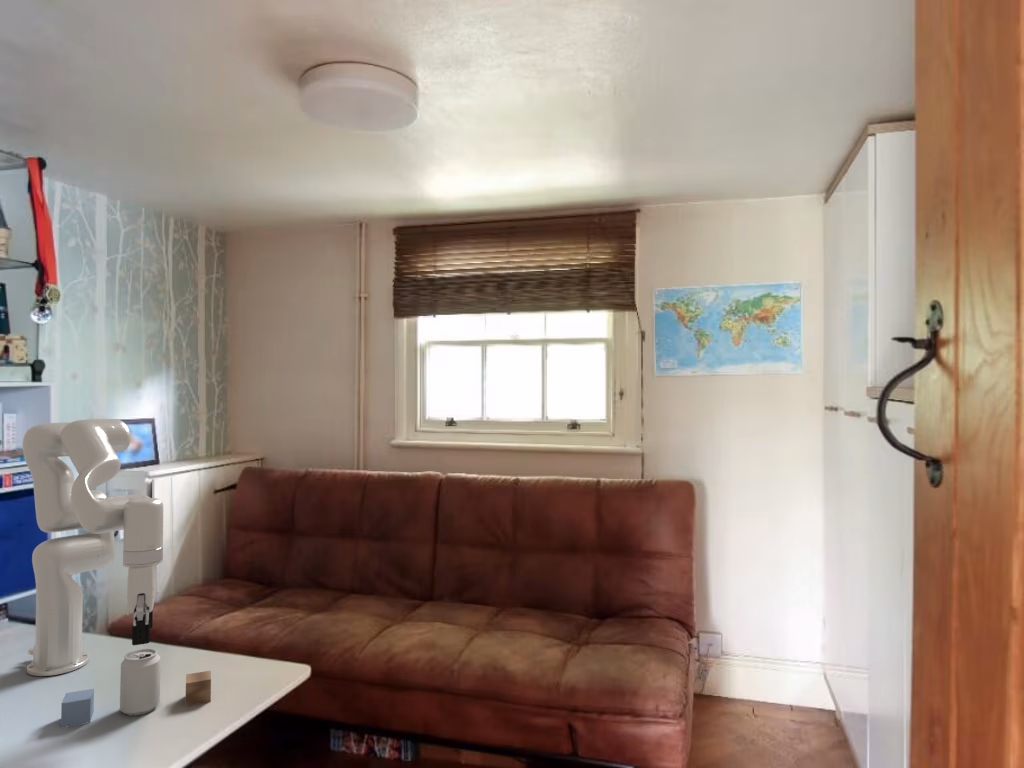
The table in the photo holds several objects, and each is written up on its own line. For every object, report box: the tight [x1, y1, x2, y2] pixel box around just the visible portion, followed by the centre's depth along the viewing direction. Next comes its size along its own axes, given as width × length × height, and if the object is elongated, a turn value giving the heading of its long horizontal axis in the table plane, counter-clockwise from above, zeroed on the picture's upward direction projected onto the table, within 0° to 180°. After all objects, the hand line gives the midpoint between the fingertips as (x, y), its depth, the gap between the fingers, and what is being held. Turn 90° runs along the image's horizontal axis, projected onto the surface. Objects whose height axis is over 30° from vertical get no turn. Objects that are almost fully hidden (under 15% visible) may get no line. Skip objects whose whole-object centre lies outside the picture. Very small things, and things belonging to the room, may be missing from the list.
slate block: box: [60, 688, 95, 728], centre depth 137 cm, size 5×5×5 cm
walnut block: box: [184, 670, 212, 707], centre depth 147 cm, size 5×5×5 cm
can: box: [119, 647, 162, 716], centre depth 142 cm, size 8×8×12 cm
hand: (142, 636), depth 142 cm, fingers open, 9 cm apart
